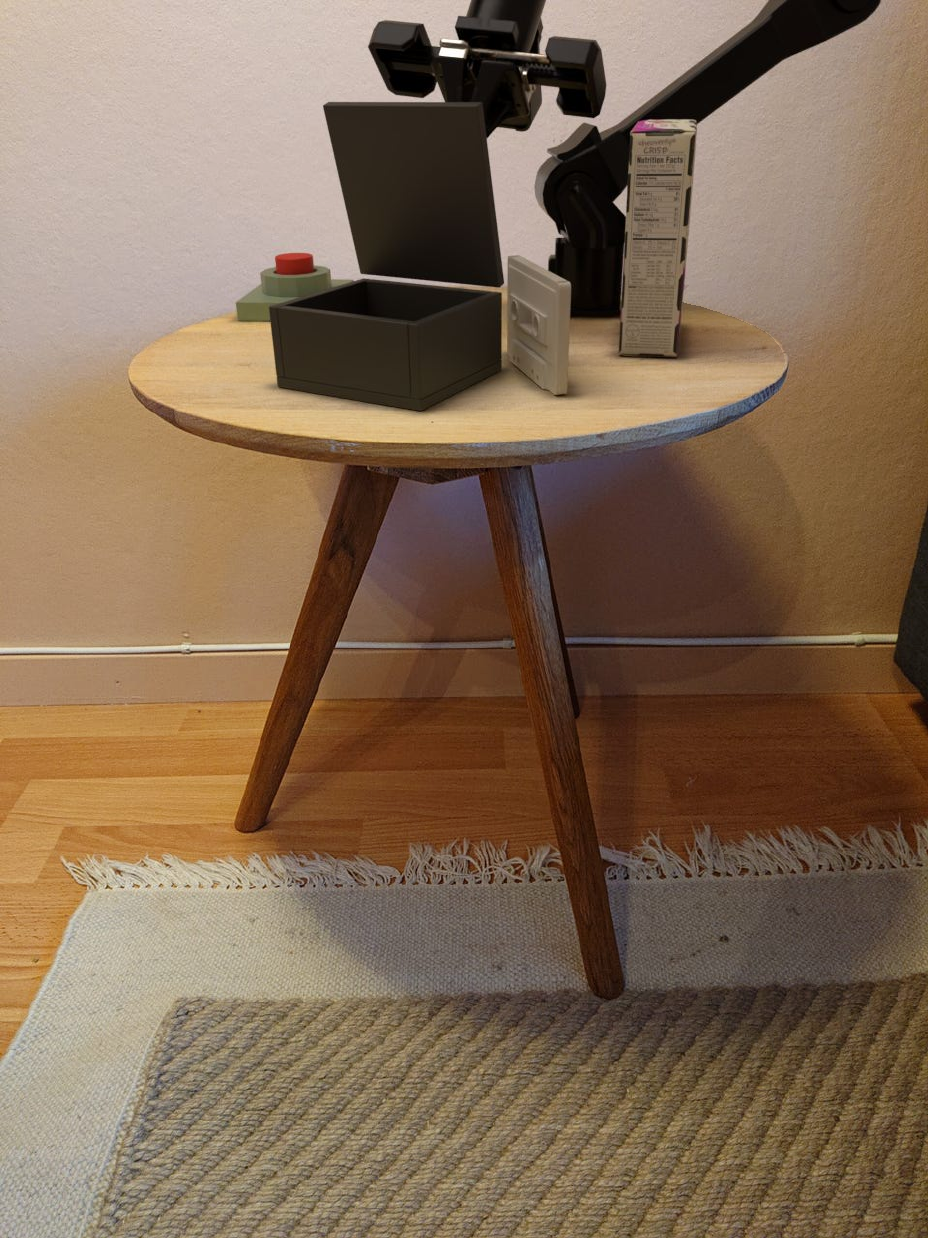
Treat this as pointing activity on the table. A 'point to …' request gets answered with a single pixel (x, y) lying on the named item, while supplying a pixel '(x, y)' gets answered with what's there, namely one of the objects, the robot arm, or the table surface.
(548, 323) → the cassette
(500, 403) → the table surface
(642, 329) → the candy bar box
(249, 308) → the switch block
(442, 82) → the robot arm
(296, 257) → the button
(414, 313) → the black lidded box
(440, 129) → the lid
